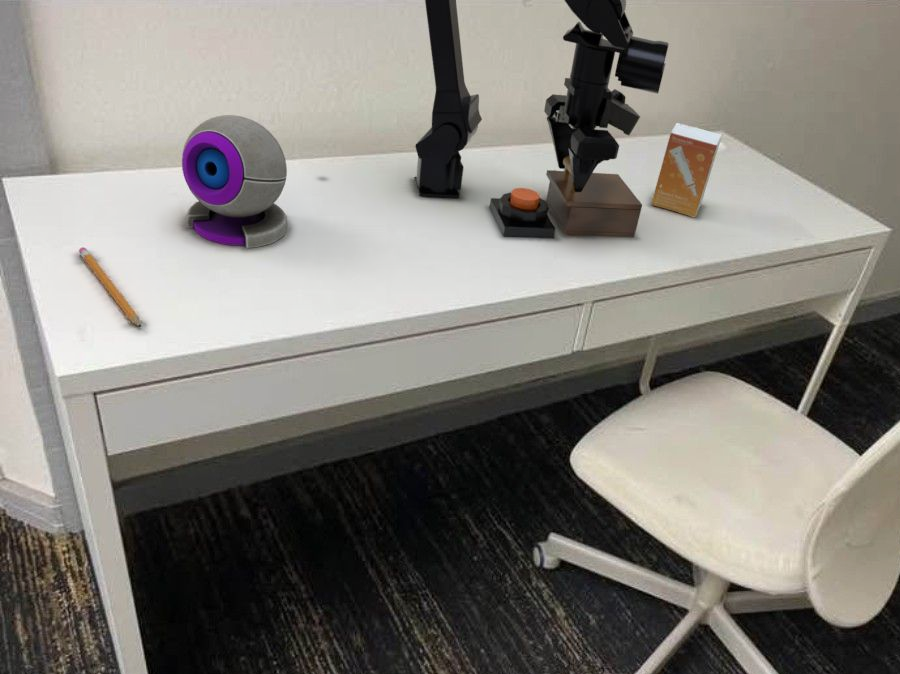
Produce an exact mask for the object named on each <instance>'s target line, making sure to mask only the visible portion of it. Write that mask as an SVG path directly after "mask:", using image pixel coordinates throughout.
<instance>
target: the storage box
mask: <svg viewBox="0 0 900 674" xmlns="http://www.w3.org/2000/svg"><path fill="white" fill-rule="evenodd" d="M545 201H546V203H547V204H548V206H549V207H548V210H549V211H550V212H551V214H552V216H553V217H554V219H555V220H556V222H557V224H558V226H559V228H560V229H561V231H562V232H563V234H564V236H574V237H575V236H577V237H579V236H580V237H607V238H633V239H634V238H635V235H636V231H637V228H638V223H639V219H640V217H641V211H642V209H641V210H640V209H617V208H594V207H572V206H566V205H565V204H564V202H563V200H562V199H561V197H560V196H559V194H558V193H557V191H556V189H555V188H554V186H553V185H552V183H551V182H550V181H549V183H548V189H547V194H546V200H545Z"/></svg>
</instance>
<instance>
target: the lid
mask: <svg viewBox="0 0 900 674" xmlns="http://www.w3.org/2000/svg"><path fill="white" fill-rule="evenodd" d="M563 164H564V165H565V169H563V170H553V169H552V170H551V169H550V170H549V169H546V173H545V176H546V177H547V178H548V180H549V183H550V182H551V183H552V185H553V186H554V188H555V189H556V191H557V193H558V194H559V196H560V197H561V199H562V200H563V202H564V204H565V205H566V206H572V207H594V208H617V209H640V210H641V211H642V209H643V204H642V202H641V201H640V200H639V199H638V197H637V196H636V194H634V192H633V191H632V190H631V189H630V187H629V186H628V185H627V184H626V182H625V181H624V179H622V177H621V176H620V175H619V174H617V173H606V172H605V173H604V172H603V173H602V172H593V173H592V174H591V176H590V178H589V180H588V181H587V183H586V185H585V187H584V188H583V190H582V192H575V191H574V186H573V179H572V171H571V163H570V156H567V157H565V158H564V160H563Z"/></svg>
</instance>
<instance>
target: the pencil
mask: <svg viewBox="0 0 900 674" xmlns="http://www.w3.org/2000/svg"><path fill="white" fill-rule="evenodd" d="M78 252H79V254H80V256H81V257H82V258H83V260H84V261H85V262H86V263H87V265H88V266H89V267H90V269H91V270H92V271H93V273H94V274H95V276H96V277H97V278H98V280H99V281H100V282H101V283H102V285H103V286H104V288H105V289H106V290H107V291H108V293H109V294H110V296H111V297H112V298H113V299H114V301H115V302H116V304H117V305H118V306H119V307H120V309H121V310H122V311H123V313H124V314H125V315H126V316H127V318H128V319H129V321H130V322H131V323H133V324H135V325H136V326H138V327H140V328H141V327H142V325H141V320H140V317H139V316H138V313H136V311H135V310H134V308H133V307H132V306H131V305H130V304H129V302H128V301H127V300H126V298H125V297H124V296H123V295H122V293H121V292H120V290H119V289H118V288H117V287H116V285H115V284H114V283H113V281H112V280H111V279H110V277H109V276H108V275H107V273H105V270H103V269H102V267H101V265H100V264H99V263H98V262H97V260H96V259H95V258H94V256H93V255H92V254H91V252H90V251H89V250H88V249H87V248H86V247H80V248H79V250H78Z"/></svg>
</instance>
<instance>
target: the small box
mask: <svg viewBox="0 0 900 674" xmlns="http://www.w3.org/2000/svg"><path fill="white" fill-rule="evenodd" d="M722 137H723V134H722V133H716V132H714V131H713V132H712V131H709V130H706V129H703V128H699V127H695V126H690V125H686V124H683V123H679V122H676V123H675V125H674V127H673V129H672V130H671V132H670V134H669V138H668V141H667V144H666V148H665V152H664V156H663V160H662V163H661V167H660V171H659V173H658V178H657V182H656V185H655V189H654V193H653V197H652V201H651V206H654V207H657V208H658V207H659V208H663V209H665V210H668V211H672V212H676V213H679V214H682V215H686V216H688V217H692V218H696V217H697V214H698V212H699V210H700V207H701V205H702V203H703V199H704V196H705V193H706V189H707V186H708V183H709V181H710V180H709V179H710V176H711V173H712V169H713V168H714V167H713V166H714V163H715V160H716V156H717V154H718V150H719V148H720V143H721V140H722Z"/></svg>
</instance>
